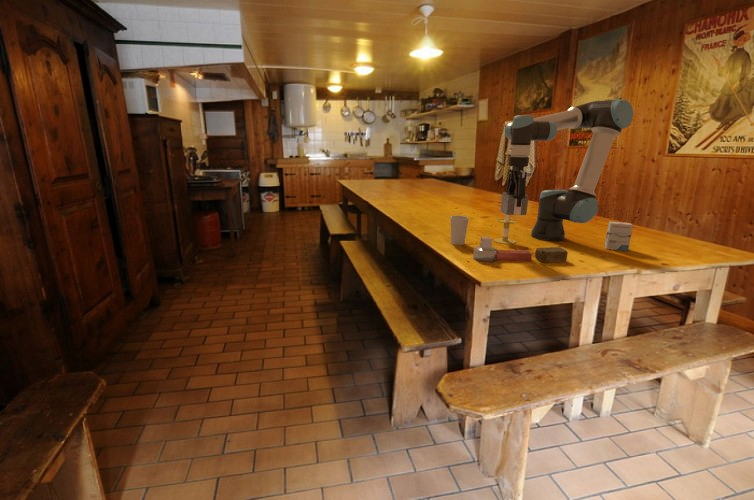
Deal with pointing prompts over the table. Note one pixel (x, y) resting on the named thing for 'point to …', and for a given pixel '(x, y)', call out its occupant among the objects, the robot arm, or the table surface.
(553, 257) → the stone block
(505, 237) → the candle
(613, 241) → the ink box
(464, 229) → the cup
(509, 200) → the socket
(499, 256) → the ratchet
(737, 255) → the table surface
